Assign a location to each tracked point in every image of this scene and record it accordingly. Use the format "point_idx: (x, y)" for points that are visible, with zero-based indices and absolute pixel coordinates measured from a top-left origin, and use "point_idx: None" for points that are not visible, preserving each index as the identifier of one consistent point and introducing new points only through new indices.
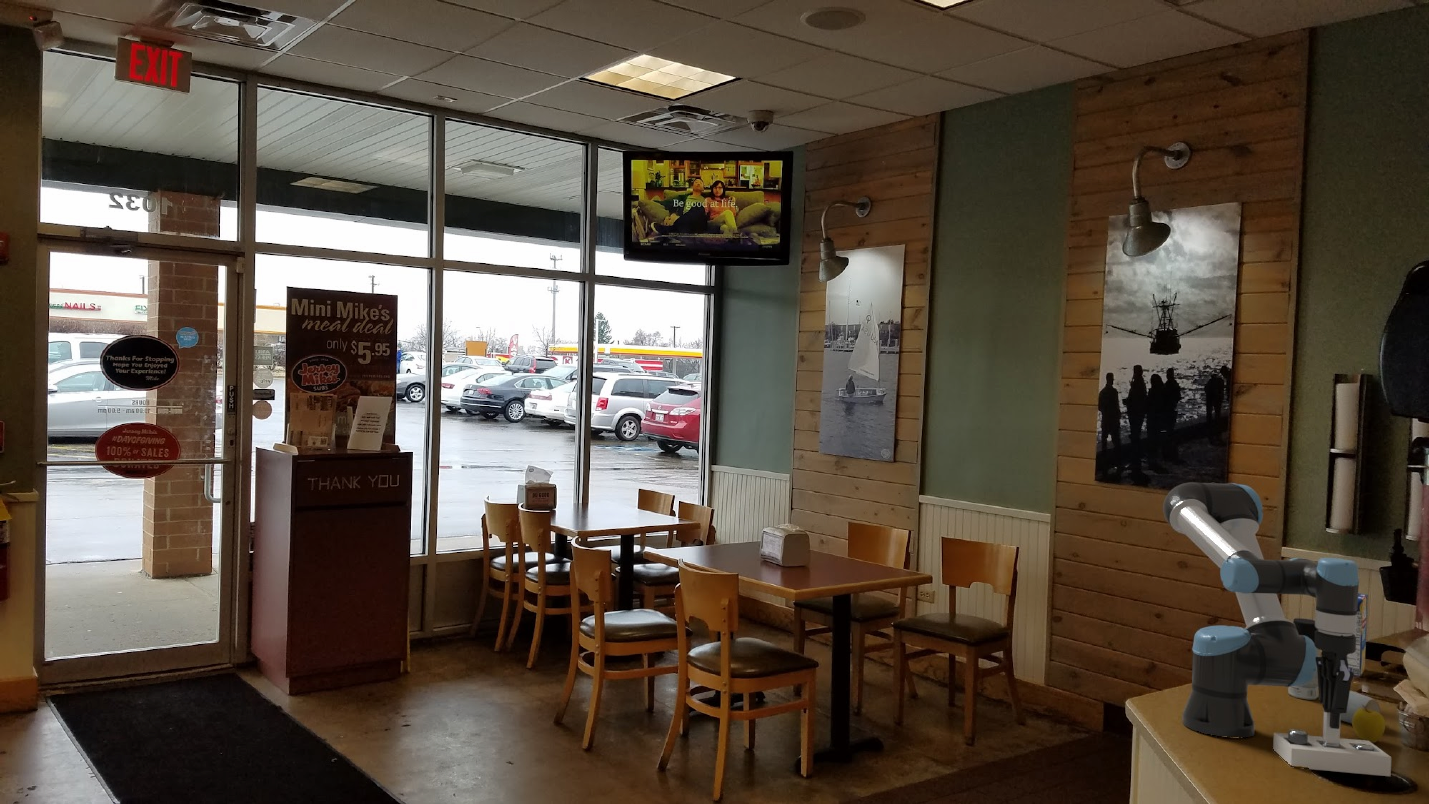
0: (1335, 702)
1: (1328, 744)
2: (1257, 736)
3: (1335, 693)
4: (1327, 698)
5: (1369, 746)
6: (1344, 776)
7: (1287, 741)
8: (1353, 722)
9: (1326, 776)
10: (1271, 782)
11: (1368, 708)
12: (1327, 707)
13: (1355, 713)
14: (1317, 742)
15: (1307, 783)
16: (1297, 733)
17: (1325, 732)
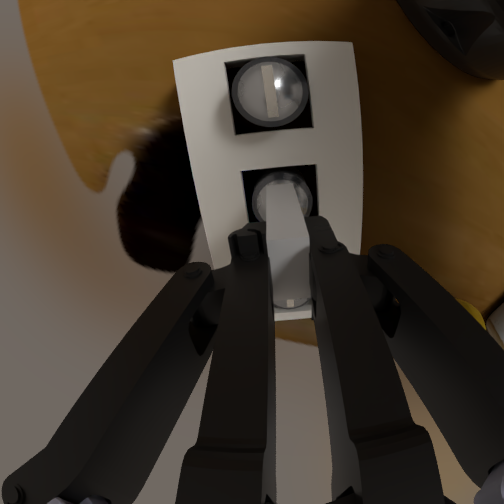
0: (146, 310)
1: (262, 192)
2: (443, 66)
3: (122, 360)
4: (320, 297)
5: (286, 302)
6: (180, 193)
7: (253, 57)
8: (467, 310)
9: (157, 148)
10: (69, 35)
11: (498, 343)
12: (311, 262)
13: None
14: (288, 162)
15: (89, 101)
16: (238, 82)
17: (271, 196)
